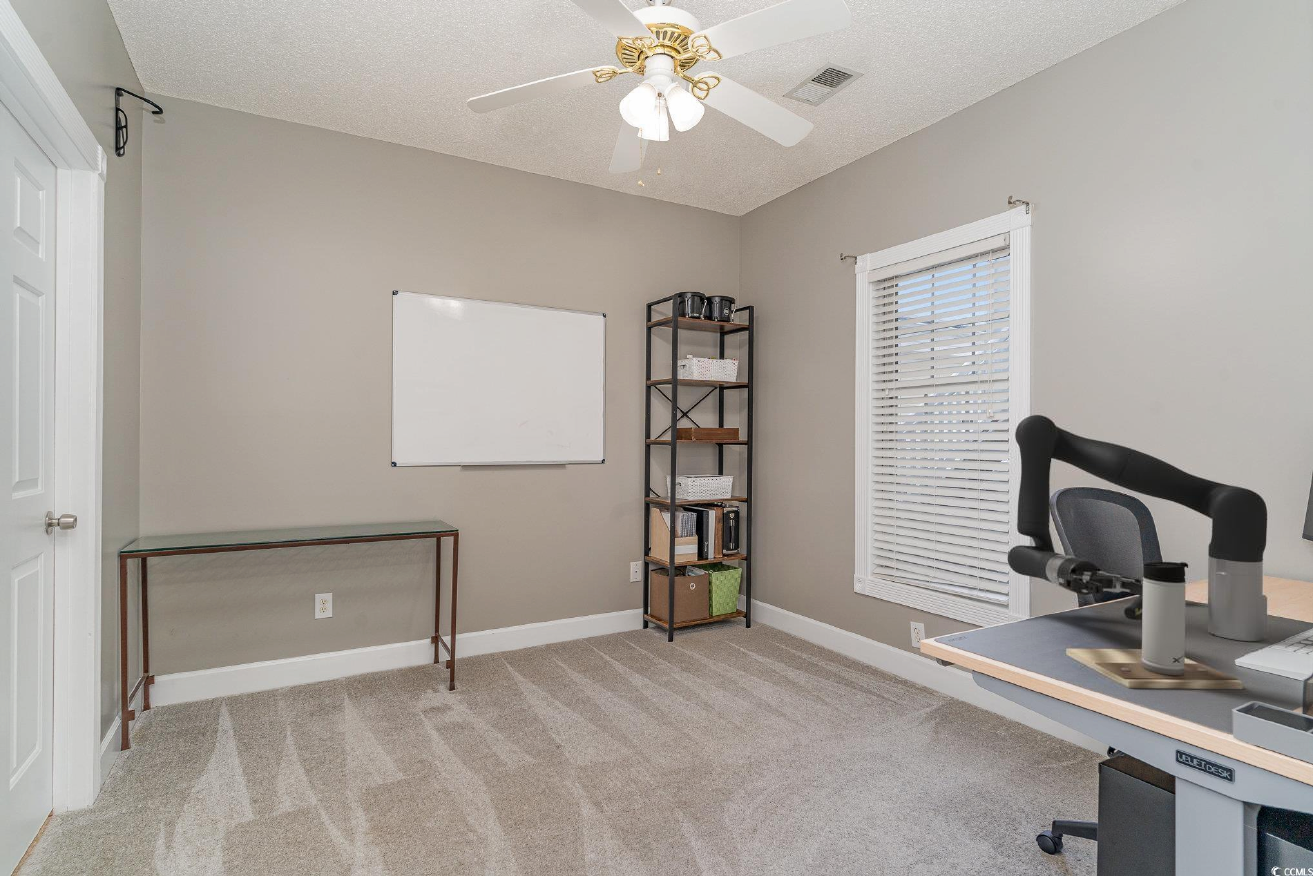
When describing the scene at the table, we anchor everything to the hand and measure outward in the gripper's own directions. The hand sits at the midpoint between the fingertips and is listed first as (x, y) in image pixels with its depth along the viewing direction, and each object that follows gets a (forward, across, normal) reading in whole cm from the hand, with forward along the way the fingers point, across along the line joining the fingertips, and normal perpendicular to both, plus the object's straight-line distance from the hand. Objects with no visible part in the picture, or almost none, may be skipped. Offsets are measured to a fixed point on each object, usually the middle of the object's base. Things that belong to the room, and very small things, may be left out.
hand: (1123, 590), depth 133 cm
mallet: (-39, +33, +14) cm, 53 cm away
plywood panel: (+7, 0, +14) cm, 15 cm away
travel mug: (+11, 0, +12) cm, 16 cm away
